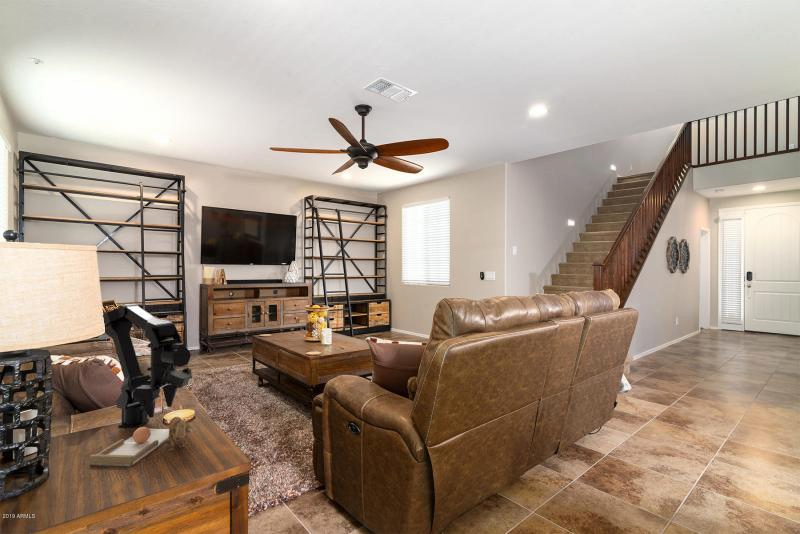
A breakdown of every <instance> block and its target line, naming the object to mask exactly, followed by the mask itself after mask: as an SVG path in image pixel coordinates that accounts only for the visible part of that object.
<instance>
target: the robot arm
mask: <svg viewBox="0 0 800 534" xmlns="http://www.w3.org/2000/svg"><path fill="white" fill-rule="evenodd" d="M102 316H103V317H104V323H105V332H104V334H105V335H107V336H108V337H110V338H111V339H112V341H113V344H114V347H115V351H116V354H117V358H118V362H119V366H120V368H121V371H122V372H121V373H122V375H123V380H122V384H121V387H120V391H121V393H120V395H119V396H118V397H117V399H116V400H115V403H116V404H115V405H116V408H117V409H120V410H121V423H119V424H117V427H118V428H119V427H120V428H123V427H124V428H138V427H140V426H142V425H143V424H144V423H146V422H149V420H150V418H154V415H155V408H156V401H157V400H158V399H159V398H160V397H161V395H159V394H160V392H161V389H162V392H163V396H164V399H165V402H166V403H165V404H166V405H167V407H168V408H171V407H172V406H173V403H174V401H175V397H176V394H177V391H178V389H181V388H183V387H185V386H187V385H188V384H189V381H190V380H191V379H192V378H193V376H192V375H193V374H192V369H191V368H190V367H185V368H183V367H184V366H186V365H187V364H188V363H189V361H190V360H191V357H192V356H191V352H190V350H189V349H188V348H186V347H185V344H184V343H183V340H182V337H181V335H180V333H179V331H178V329H177V328H176V325H175V324H174V323H173V322H172V321H170V320H167V319H159V318H157V317H155V316H153V315H152V314H151V313H149V312H148V311H146V310H145V309H143V308H141V307H140V305H139V304H136V303H128V304H122V305H120V306H118V307H117V308H114V309H112V310H110V311H107V312H105V313H103V315H102ZM133 324H134V325H136V326H137V327H138V328H140V329H141V330H143V331H144V333H143V334H144V337H146V339H147V340H148V341H149V343H148V344H147V346H146V348H149V349H150V366H147V371H148V372H150V375H149V374H144V373H143V372H142V370H141V367H140V364H139V360H138V356H137V354H136V350H135V347H134V344H133V340H132V337H131V333H130V332H131V330H132V328H133ZM176 367H179V368H181V367H182V368H183V369H177V368H176Z"/></svg>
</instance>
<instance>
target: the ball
mask: <svg viewBox="0 0 800 534" xmlns="http://www.w3.org/2000/svg"><path fill="white" fill-rule="evenodd" d="M149 429H150V428H148V427H147V426H141V427H140V426H139V428H138V427H137V429H136V430H134V431H133V434H132V436H133V440H134V441H135V442H137V443H143V442H145V441H147V440H148V439H149V437H150V434H151V432H150V430H149Z"/></svg>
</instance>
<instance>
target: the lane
mask: <svg viewBox="0 0 800 534" xmlns="http://www.w3.org/2000/svg"><path fill="white" fill-rule="evenodd" d="M148 429H149V430H150V432H151V434H150V437H149V439H148V440H147V441H145V442H143V443H137V442H135V441H134V440H133V435H132V436H130V437H128V438H127V439H126V440H125V439H124V438H121V439H119V440H118V441H116V442H114V443H112V444H110V445H109V446H108V447H105V449H103V450H101V451H100V452H98V453H92V454H90V455H89V465H90V466H109V467H114V466H115V467H132V466H133V465H135V464H136V463H137V462H139V461H140V460H142V459H143V458H144V457H146V456H147V455H148V454H150V453H152V451H154V450H155V449H157V448H158V447H160V446H161V445H162V444H163V443H165V442H167V439H168V436H169V428H148Z"/></svg>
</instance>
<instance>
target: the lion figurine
mask: <svg viewBox="0 0 800 534" xmlns="http://www.w3.org/2000/svg"><path fill="white" fill-rule="evenodd" d="M193 428H194V426H192V425H190V424H189V423H188V421H187V419H181V417H179V416H174V417H172V418H171V420H170V422H169V426H168V429H169V436H168V439H167V440H166V442H170V443H169V445H170V448H169V451H171V452H173V451H175V442H178V447H179V448H181V447H183V448H184V447H185V444H184V438H186V436H187V434H190V433H192V430H193ZM181 449H182V448H181ZM172 450H173V451H172Z"/></svg>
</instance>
